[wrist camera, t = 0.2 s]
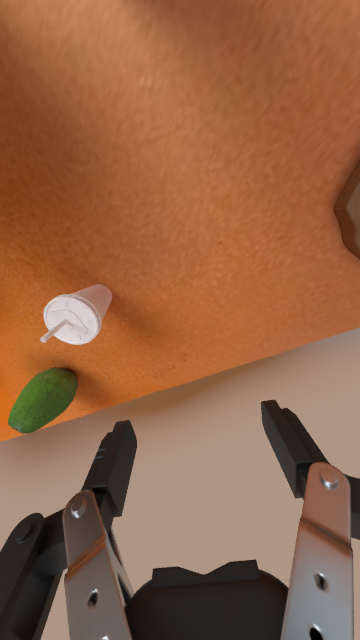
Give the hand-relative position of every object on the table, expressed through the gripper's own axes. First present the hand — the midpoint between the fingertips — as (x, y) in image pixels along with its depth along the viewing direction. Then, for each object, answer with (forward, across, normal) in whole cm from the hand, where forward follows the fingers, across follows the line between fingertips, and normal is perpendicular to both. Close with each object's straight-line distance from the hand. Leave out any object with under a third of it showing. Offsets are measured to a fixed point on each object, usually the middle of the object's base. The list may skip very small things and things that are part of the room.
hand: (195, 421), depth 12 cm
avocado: (+24, +26, +9) cm, 37 cm away
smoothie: (+22, +13, -5) cm, 26 cm away
